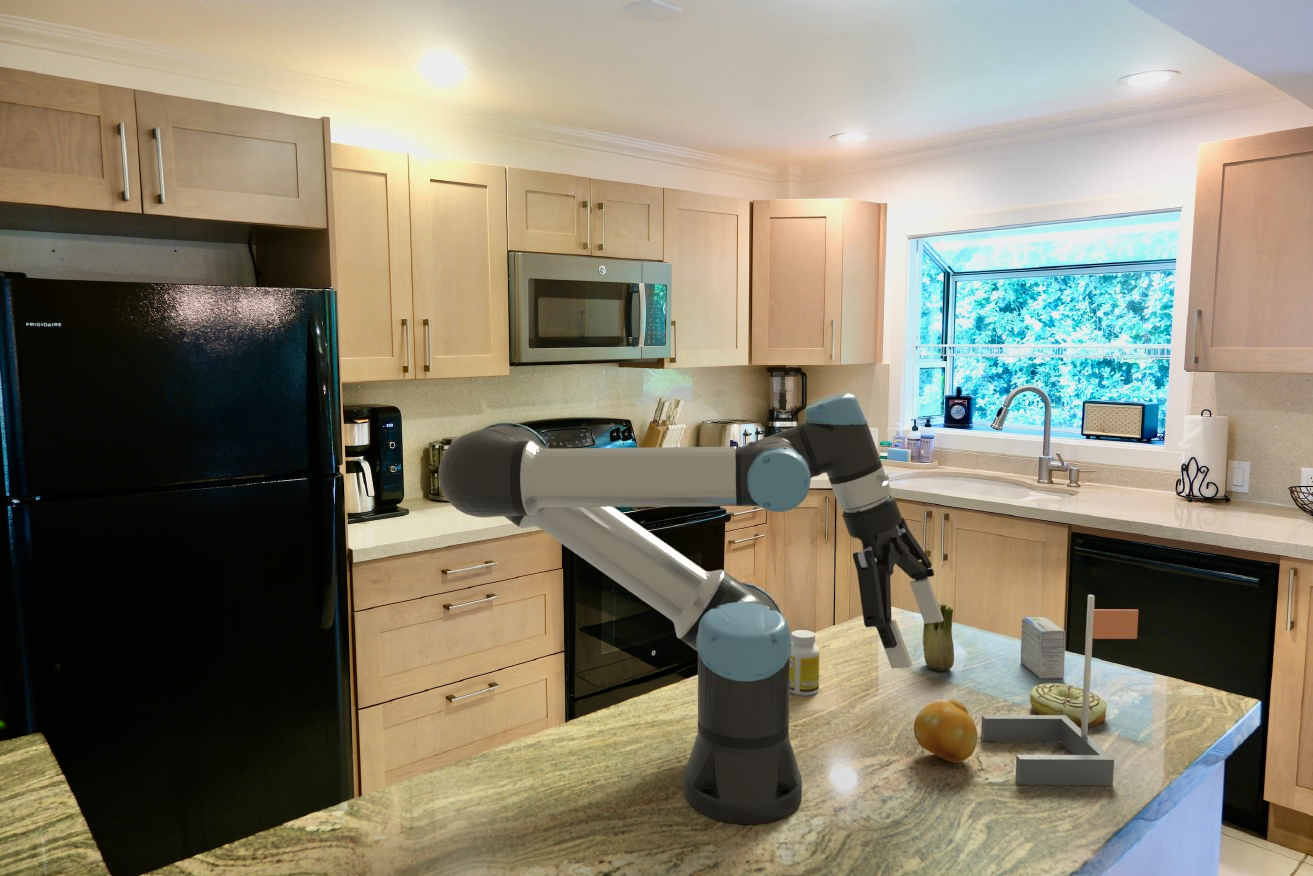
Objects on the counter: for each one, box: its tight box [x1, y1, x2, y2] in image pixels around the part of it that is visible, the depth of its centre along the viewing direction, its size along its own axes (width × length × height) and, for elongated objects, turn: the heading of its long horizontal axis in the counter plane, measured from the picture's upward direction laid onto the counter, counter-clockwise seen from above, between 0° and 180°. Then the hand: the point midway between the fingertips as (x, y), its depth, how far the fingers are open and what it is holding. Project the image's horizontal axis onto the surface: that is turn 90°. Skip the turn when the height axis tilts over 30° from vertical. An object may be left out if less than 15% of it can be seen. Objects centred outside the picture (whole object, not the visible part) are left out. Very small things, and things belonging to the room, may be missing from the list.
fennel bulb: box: [922, 602, 955, 672], centre depth 149 cm, size 6×5×12 cm
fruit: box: [913, 699, 978, 763], centre depth 115 cm, size 8×8×8 cm
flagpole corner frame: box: [980, 594, 1139, 786], centre depth 114 cm, size 18×13×24 cm
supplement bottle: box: [789, 629, 820, 697], centre depth 139 cm, size 5×5×10 cm
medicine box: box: [1020, 616, 1066, 680], centre depth 148 cm, size 8×4×9 cm, turn 179°
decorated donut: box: [1029, 682, 1108, 727], centre depth 130 cm, size 10×11×4 cm
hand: (918, 643), depth 116 cm, fingers open, 13 cm apart
